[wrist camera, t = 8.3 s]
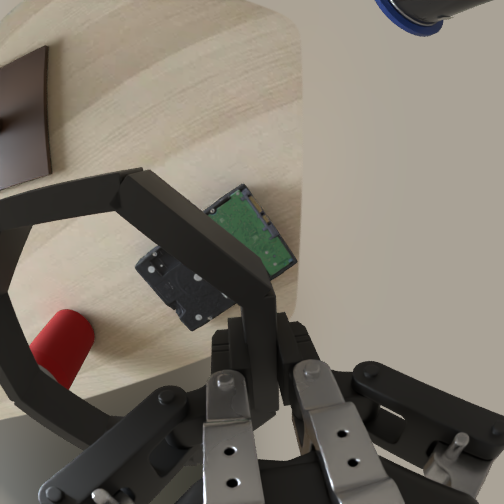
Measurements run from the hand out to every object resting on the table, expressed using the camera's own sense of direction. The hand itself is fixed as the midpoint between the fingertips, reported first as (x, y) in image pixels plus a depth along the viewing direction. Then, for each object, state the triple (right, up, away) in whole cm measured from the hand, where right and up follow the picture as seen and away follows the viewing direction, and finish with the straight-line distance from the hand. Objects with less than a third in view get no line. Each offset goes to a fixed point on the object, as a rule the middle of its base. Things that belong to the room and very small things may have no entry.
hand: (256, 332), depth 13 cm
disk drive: (-4, +3, +21) cm, 22 cm away
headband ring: (-7, 0, 0) cm, 7 cm away
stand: (-33, +20, +12) cm, 40 cm away
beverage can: (-25, -7, +22) cm, 34 cm away
